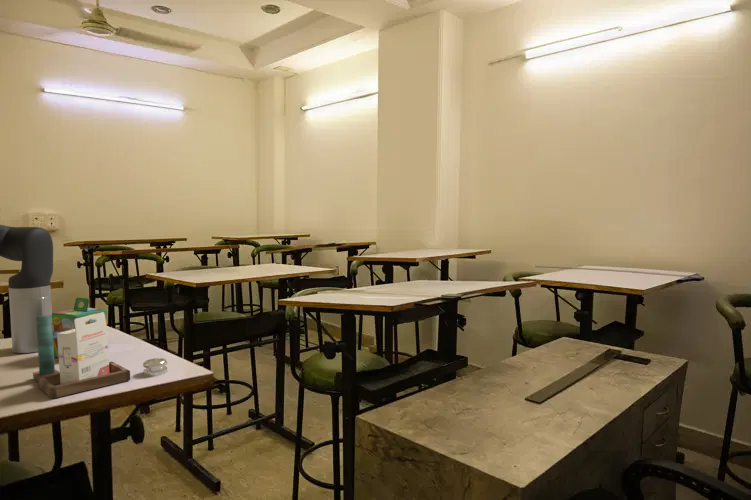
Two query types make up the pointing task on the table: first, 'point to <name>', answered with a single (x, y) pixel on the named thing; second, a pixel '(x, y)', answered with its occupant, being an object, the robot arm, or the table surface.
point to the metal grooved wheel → (155, 367)
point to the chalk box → (72, 319)
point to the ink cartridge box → (84, 349)
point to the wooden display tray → (51, 376)
